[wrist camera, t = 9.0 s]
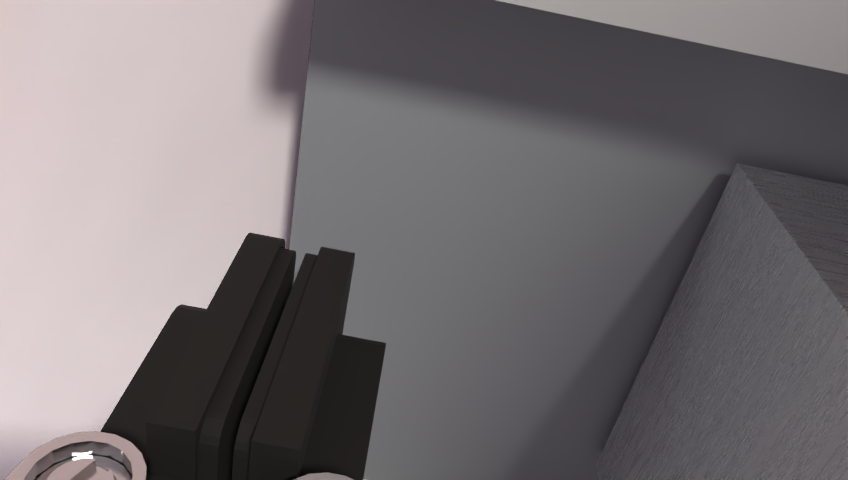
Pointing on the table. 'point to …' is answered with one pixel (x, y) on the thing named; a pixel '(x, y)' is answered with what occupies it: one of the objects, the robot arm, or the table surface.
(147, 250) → the table surface
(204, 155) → the table surface
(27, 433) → the table surface
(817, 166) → the track
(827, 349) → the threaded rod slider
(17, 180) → the table surface
